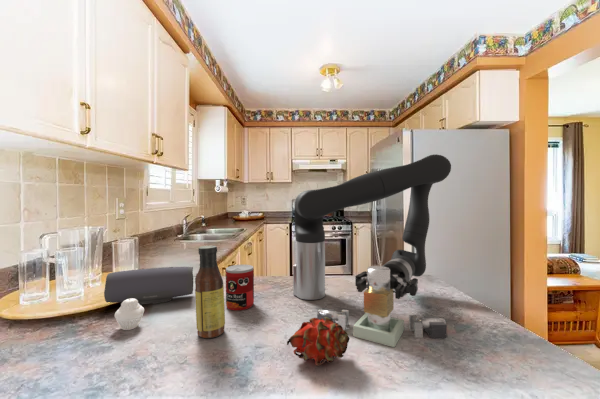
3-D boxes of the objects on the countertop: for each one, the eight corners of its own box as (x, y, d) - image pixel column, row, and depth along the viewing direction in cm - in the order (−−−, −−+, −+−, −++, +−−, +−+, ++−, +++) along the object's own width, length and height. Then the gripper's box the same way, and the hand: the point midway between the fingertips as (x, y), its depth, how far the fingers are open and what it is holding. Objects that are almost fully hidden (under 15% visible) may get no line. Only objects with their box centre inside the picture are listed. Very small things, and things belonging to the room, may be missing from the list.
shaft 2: (415, 338, 63) (415, 322, 63) (408, 329, 68) (408, 314, 68) (448, 338, 63) (448, 323, 63) (439, 329, 68) (439, 314, 68)
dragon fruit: (355, 371, 54) (292, 378, 55) (347, 328, 61) (291, 335, 62) (353, 349, 49) (283, 357, 50) (344, 305, 56) (283, 313, 57)
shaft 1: (349, 324, 71) (349, 310, 71) (344, 331, 67) (344, 317, 67) (321, 319, 73) (321, 306, 73) (315, 326, 69) (315, 312, 69)
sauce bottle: (230, 329, 68) (229, 245, 68) (214, 341, 62) (213, 249, 62) (207, 325, 70) (206, 243, 70) (189, 337, 64) (188, 248, 64)
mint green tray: (353, 336, 64) (353, 325, 64) (366, 321, 72) (366, 311, 72) (394, 347, 60) (394, 335, 60) (404, 330, 67) (404, 319, 67)
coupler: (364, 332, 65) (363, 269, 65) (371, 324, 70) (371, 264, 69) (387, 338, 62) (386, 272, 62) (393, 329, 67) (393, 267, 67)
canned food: (220, 308, 81) (220, 269, 81) (236, 299, 88) (236, 263, 88) (243, 312, 78) (243, 272, 78) (258, 302, 85) (258, 265, 85)
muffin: (140, 319, 74) (139, 292, 74) (147, 327, 69) (147, 298, 69) (111, 327, 69) (111, 298, 69) (118, 336, 65) (117, 305, 65)
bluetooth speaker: (193, 292, 95) (193, 262, 95) (192, 302, 86) (192, 268, 86) (113, 300, 88) (113, 267, 88) (103, 312, 79) (103, 275, 79)
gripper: (369, 257, 82) (347, 270, 69) (423, 263, 75) (410, 278, 61) (369, 284, 82) (347, 301, 69) (423, 292, 75) (410, 314, 61)
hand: (377, 290), depth 65 cm, fingers open, 8 cm apart
